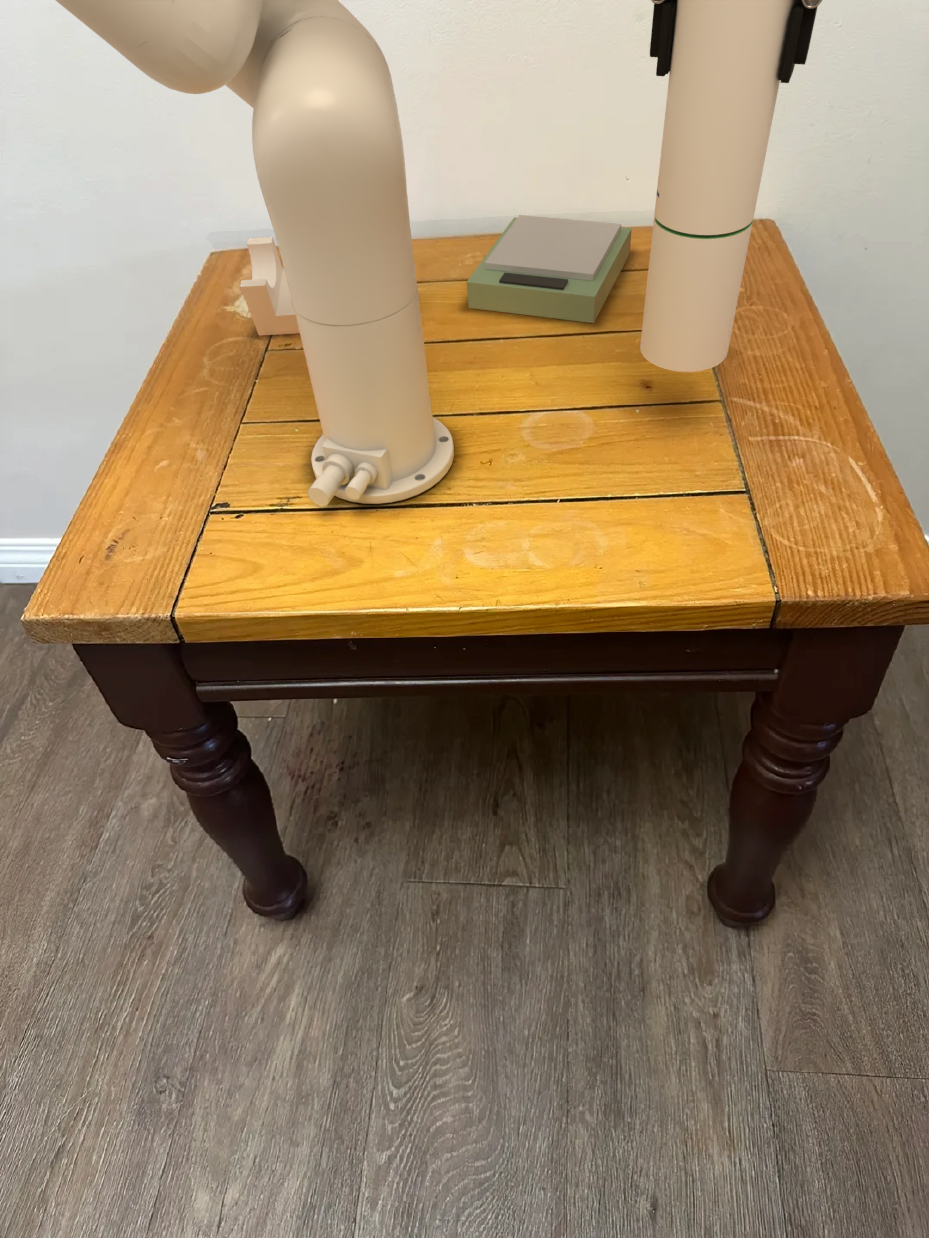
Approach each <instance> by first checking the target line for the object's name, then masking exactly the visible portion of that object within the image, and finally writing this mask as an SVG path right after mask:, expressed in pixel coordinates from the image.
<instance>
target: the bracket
mask: <svg viewBox="0 0 929 1238" xmlns="http://www.w3.org/2000/svg"><path fill="white" fill-rule="evenodd" d="M246 246H247V249H248V253H249V256H250V264H251V279H241V280H240V285H239V289H240V291H241V293H242V295H243V298H244V301H245V305H246V306H247V309H248V312H249V314H250V316H251V319H252V322H253V324H254V327H255V330H256V332H257V334H258V336H276V335H293V334H294V335H297V334H300V332H299V328H298V323H297V319H296V315H295V310H294V307H293V305H292V300H291V296H290V292H289V287H288V283H287V279H286V275H285V270H284V267H283V264H282V261H281V259H280V256H279V253H278V250H277V247H276V244H275V240H274V237H273V236H265V237H249V238H247V243H246Z"/></svg>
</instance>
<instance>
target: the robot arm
mask: <svg viewBox="0 0 929 1238" xmlns="http://www.w3.org/2000/svg"><path fill="white" fill-rule="evenodd" d="M55 1H56V2H57V3H58V4H59V5H61V7H62V8H64V9H65V10H66V11H68V12H69V13H70V14H72V15H73V16H74V17H75V18H76V19H78V20H79V21H80V22H81V23H83V24H84V25H85V26H86V27H88V28H89V29H90V30H91V31H92V32H94V33H95V34H96V35H98V36H99V37H100V38H101V39H102V40H104V42H106V43H107V44H108V45H110V47H112V48H113V49H114V50H116V51H117V52H118V53H119V54H120V55H122V56H123V57H124V58H125V59H126V60H127V61H129V62H130V63H131V64H132V65H133V66H135V67H136V68H137V69H138V70H139V71H141V72H142V73H143V74H145V75H146V76H147V77H149V78H150V79H151V80H153V81H155V82H156V83H158V84H160V85H162V86H164V87H166V88H168V89H169V90H173V91H177V92H180V93H184V94H188V95H202V94H206V93H211V92H213V91H216V90H219V89H221V88H223V87H224V86H225V87H227V88H228V89H229V90H230V91H232V92H233V93H234V94H235V95H237V96H238V97H239V98H240V99H241V100H243V101H244V102H245V103H246V104H247V105H249V106H250V107H251V108H252V109H253V110H252V118H251V120H252V121H251V122H252V123H251V142H252V143H251V144H252V155H253V159H254V166H255V171H256V176H257V180H258V184H259V187H260V192H261V195H262V197H263V201H264V205H265V208H266V211H267V214H268V217H269V220H270V223H271V226H272V229H273V233H274V237H275V240H276V243H277V247H278V250H279V254H280V258H281V263H282V267H283V268H284V270H285V275H286V279H287V283H288V287H289V292H290V296H291V300H292V305H293V307H294V310H295V315H296V319H297V323H298V328H299V332H300V333H299V336H300V340H301V345H302V350H303V353H304V358H305V362H306V366H307V370H308V375H309V379H310V385H311V388H312V393H313V396H314V400H315V405H316V410H317V413H318V418H319V422H320V427H321V431H322V434H321V436H320V437H319V438H318V440H316V442H315V444H314V447H313V449H312V450H311V451H312V452H311V458H310V460H311V467H312V469H313V470H312V471H313V474H314V477H315V480H314V481H313V483H312V484H311V486H310V487H309V488H308V490H307V497H308V499H309V500H310V501H311V502H312V503H313V504H315V505H316V506H319V507H326V506H328V505H329V503H330V502H331V501H332V499H333V498H334V497H337V498H338V499H343V500H345V501H348V502H350V503H351V502H352V503H357V504H358V503H359V504H365V505H367V504H370V505H371V504H372V505H379V504H381V505H382V504H389V503H394V502H399V501H403V500H407V499H410V498H412V497H415V496H418V495H420V494H422V493H423V492H425V491H428V490H429V489H431V488H432V487H434V486H435V485H436V484H438V483H439V482H440V481H441V480H442V479H443V478H444V477H445V476H447V474H448V472H449V470H450V468H451V467H452V464H453V462H454V458H455V446H454V440H453V436H452V434H451V432H450V430H449V428H447V426H445V424H444V423H443V422H441V421H440V420H438V419H437V418H436V417H434V416H433V408H432V399H431V391H430V381H429V374H428V373H429V372H428V365H427V357H426V345H425V337H424V330H423V322H422V321H423V320H422V313H421V304H420V294H419V287H418V282H417V273H416V264H415V263H416V262H415V257H414V256H415V255H414V248H413V247H414V246H413V239H412V228H411V222H410V221H411V220H410V211H409V199H408V188H407V187H408V186H407V173H406V172H407V171H406V161H405V160H406V159H405V151H404V143H403V142H404V141H403V135H402V128H401V123H400V116H399V110H398V105H397V99H396V94H395V90H394V89H395V88H394V84H393V79H392V74H391V70H390V68H389V65H388V62H387V59H386V57H385V55H384V52H383V51H382V49H381V47H380V45H379V43H378V42H377V41H376V39H375V38H374V36H373V35H372V34H371V33H370V32H369V30H368V29H367V28H366V27H365V25H363V24H362V22H361V21H360V20H358V18H357V17H356V16H355V15H354V14H353V13H352V12H351V11H350V10H349V9H348V8H347V7H346V6H345V5H344V4H342V2H340V1H339V0H55ZM650 2H652V3H653V11H652V12H653V13H652V21H651V22H652V23H651V33H650V44H649V45H650V46H649V57H650V58H656V59H657V61H656V70H655V76H656V77H665V76H666V75H669V74H670V65H671V56H672V46H673V37H674V28H675V18H676V9H677V0H650ZM822 2H823V0H795V4H794V6H793V7H792V9H791V12H790V17H789V22H788V28H787V33H786V38H785V43H784V49H783V54H782V59H781V65H780V70H779V75H778V80H780V83H781V84H789V83H790V81H791V78H792V76H793V72H794V69H795V65H806V62H807V58H808V55H809V49H810V45H811V40H812V35H813V30H814V26H815V22H816V17H817V12H818V7H819V6H820V5H821V3H822ZM780 83H779V84H780Z"/></svg>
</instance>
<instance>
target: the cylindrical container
mask: <svg viewBox="0 0 929 1238" xmlns="http://www.w3.org/2000/svg"><path fill="white" fill-rule="evenodd" d="M794 4H795V0H677V9H676V18H675V28H674V37H673V46H672V56H671V65H670V71H669V73H668V82H667V83H668V84H667V93H666V103H665V111H664V112H665V113H664V121H663V131H662V140H661V148H660V158H659V166H658V167H659V168H658V176H657V177H658V178H657V186H656V195H655V206H654V215H653V223H652V233H651V243H650V251H649V261H648V262H649V263H648V270H647V280H646V289H645V296H644V297H645V298H644V306H643V317H642V326H641V335H640V345H639V349H640V354H641V355H642V356H643V358H644V359H646V361H648V362H649V363H650V364H652V365H653V366H657V367H659V368H661V369H664V370H667V371H673V372H682V373H696V372H701V371H706V370H710V369H712V368H715V367H717V366H718V365H721V363H722V362H724V360H726V358H727V356H728V353H729V350H730V349H729V348H730V345H731V344H730V343H731V337H732V333H733V327H734V322H735V318H736V311H737V308H738V307H737V306H738V302H739V296H740V291H741V285H742V280H743V276H744V270H745V265H746V259H747V254H748V248H749V245H750V239H751V233H752V228H753V223H754V218H755V212H756V207H757V204H758V203H757V201H758V197H759V191H760V186H761V180H762V175H763V171H764V165H765V162H766V161H765V160H766V155H767V150H768V145H769V139H770V134H771V130H772V125H773V119H774V114H775V110H776V105H777V99H778V94H779V88H780V82H781V80H778V75H779V70H780V65H781V59H782V54H783V49H784V43H785V38H786V33H787V28H788V22H789V17H790V12H791V9H792V7H793V6H794Z"/></svg>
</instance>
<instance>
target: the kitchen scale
mask: <svg viewBox="0 0 929 1238" xmlns="http://www.w3.org/2000/svg"><path fill="white" fill-rule="evenodd" d="M632 229H633V228H632V227H625V226H622V223H613V222H604V221H594V220H593V221H592V220H581V219H570V218H559V217H546V216H536V215H525V214H518V216H517V217H513V219H512V220H511V221H510V222H509V223H508V225H507V226H506V228H505V229H504V230H503V232H502V233H501V235H500V236H499V237H498V239H497V240H496V242H495V243H494V244H493V245H492V246H491V248H490V250H489V251H488V252H487V254H486V255H485V256H484V258H483V259H482V260H481V262H480V263H479V264H478V265H477V267H476V268H475V270H474V271H473V273H472V274H471V275H470V277H469V278H468V279H467V281H466V290H467V291H466V292H467V302H468V304H467V305H468V307H467V308H468V309H474V310H482V311H489V312H490V311H491V312H498V313H507V314H513V315H514V314H515V315H523V316H530V317H531V316H532V317H540V318H546V319H547V318H548V319H556V320H565V321H571V322H580V323H588V324H595V322H596V320H597V318H598V316H599V314H600V313H601V310H602V308H603V306H604V305H605V302H606V301H607V299H608V297H609V295H610V293H611V291H612V290H613V287H614V285H615V283H616V282H617V279H618V277H619V276H620V274H621V271H622V270H623V268H624V265H626V262H627V260H628V259H629V256H630V254H631V243H632Z"/></svg>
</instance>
